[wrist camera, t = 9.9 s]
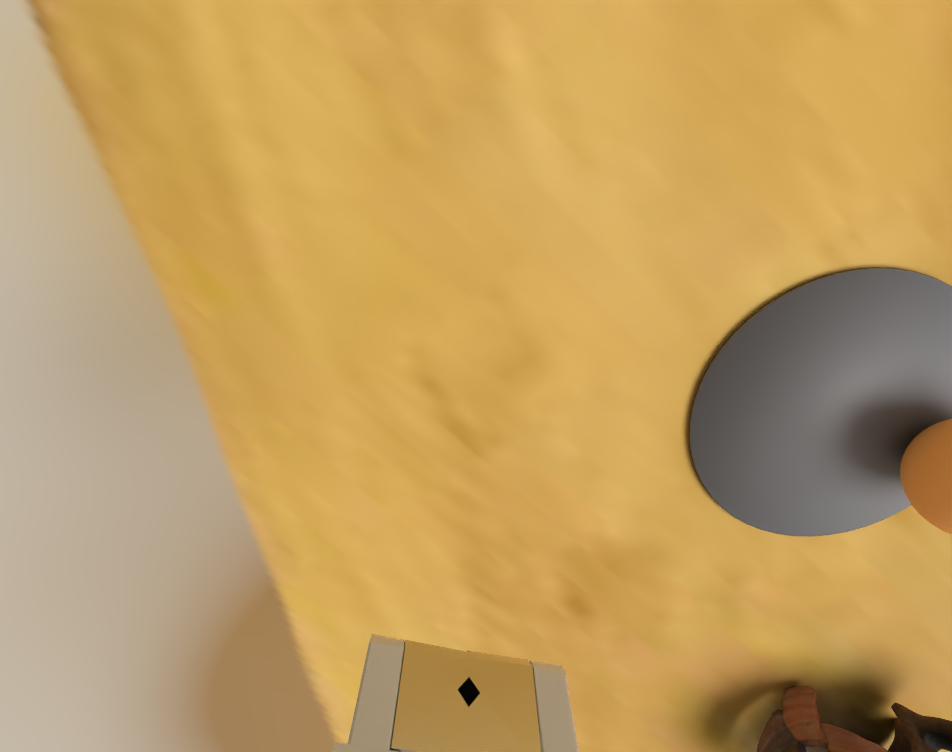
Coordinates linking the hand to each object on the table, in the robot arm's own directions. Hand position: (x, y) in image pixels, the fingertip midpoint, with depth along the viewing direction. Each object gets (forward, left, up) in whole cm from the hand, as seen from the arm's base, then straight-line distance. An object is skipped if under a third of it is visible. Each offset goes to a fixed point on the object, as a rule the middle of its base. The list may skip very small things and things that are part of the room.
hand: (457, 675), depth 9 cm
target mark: (0, +18, -17) cm, 25 cm away
